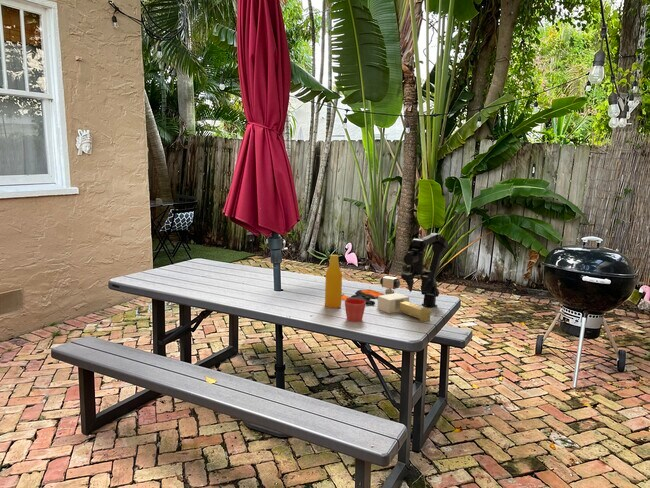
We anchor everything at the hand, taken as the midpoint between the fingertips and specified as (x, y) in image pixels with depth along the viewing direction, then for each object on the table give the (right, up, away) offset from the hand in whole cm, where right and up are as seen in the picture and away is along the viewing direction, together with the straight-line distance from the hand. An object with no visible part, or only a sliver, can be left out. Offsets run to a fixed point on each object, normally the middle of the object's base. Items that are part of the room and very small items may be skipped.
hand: (416, 290), depth 253 cm
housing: (-12, -11, +5) cm, 17 cm away
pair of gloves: (-25, -8, +26) cm, 38 cm away
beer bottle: (-45, -10, +9) cm, 47 cm away
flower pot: (-35, -14, -15) cm, 40 cm away
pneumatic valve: (-9, -6, +36) cm, 38 cm away
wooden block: (-3, -13, -8) cm, 16 cm away
